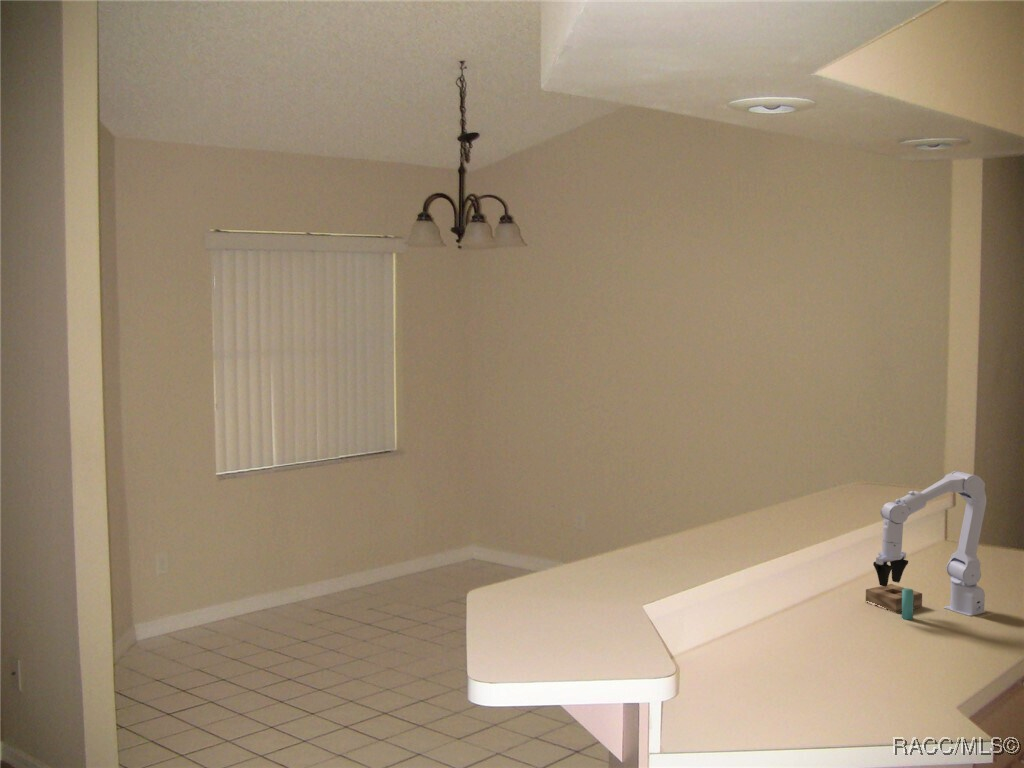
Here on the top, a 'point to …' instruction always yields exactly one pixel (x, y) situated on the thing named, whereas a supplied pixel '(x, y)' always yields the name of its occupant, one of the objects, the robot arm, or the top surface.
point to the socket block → (891, 597)
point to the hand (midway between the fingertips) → (889, 583)
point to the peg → (907, 604)
